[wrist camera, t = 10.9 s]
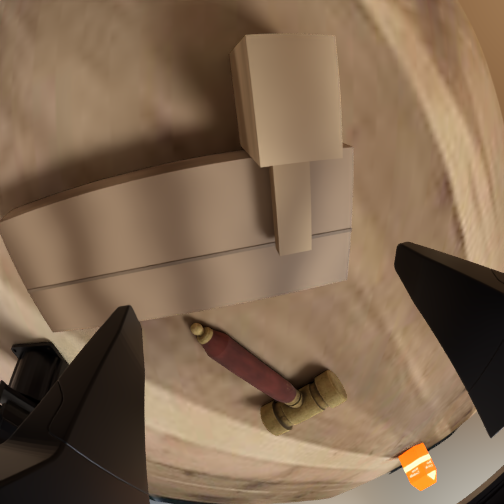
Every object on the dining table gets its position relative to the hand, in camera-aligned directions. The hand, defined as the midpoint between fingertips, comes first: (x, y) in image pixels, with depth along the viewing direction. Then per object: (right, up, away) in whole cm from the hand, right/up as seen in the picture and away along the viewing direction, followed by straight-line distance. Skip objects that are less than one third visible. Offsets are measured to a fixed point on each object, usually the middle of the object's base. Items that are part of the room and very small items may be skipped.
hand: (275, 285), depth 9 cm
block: (+1, +8, +9) cm, 12 cm away
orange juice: (+62, -78, +73) cm, 124 cm away
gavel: (0, -11, +21) cm, 24 cm away
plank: (-6, +2, +11) cm, 13 cm away
